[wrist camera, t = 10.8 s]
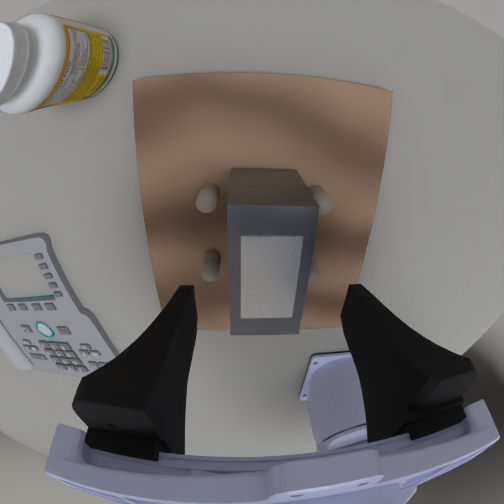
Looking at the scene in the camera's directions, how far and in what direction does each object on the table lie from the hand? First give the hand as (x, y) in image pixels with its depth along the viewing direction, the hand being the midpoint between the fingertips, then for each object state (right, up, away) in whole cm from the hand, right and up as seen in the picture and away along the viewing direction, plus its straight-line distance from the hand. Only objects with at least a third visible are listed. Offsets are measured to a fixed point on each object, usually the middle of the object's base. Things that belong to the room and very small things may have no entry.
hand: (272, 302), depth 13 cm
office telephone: (-28, -5, +13) cm, 31 cm away
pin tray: (0, +5, +7) cm, 9 cm away
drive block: (0, +4, +6) cm, 8 cm away
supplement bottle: (-12, +15, +1) cm, 19 cm away
